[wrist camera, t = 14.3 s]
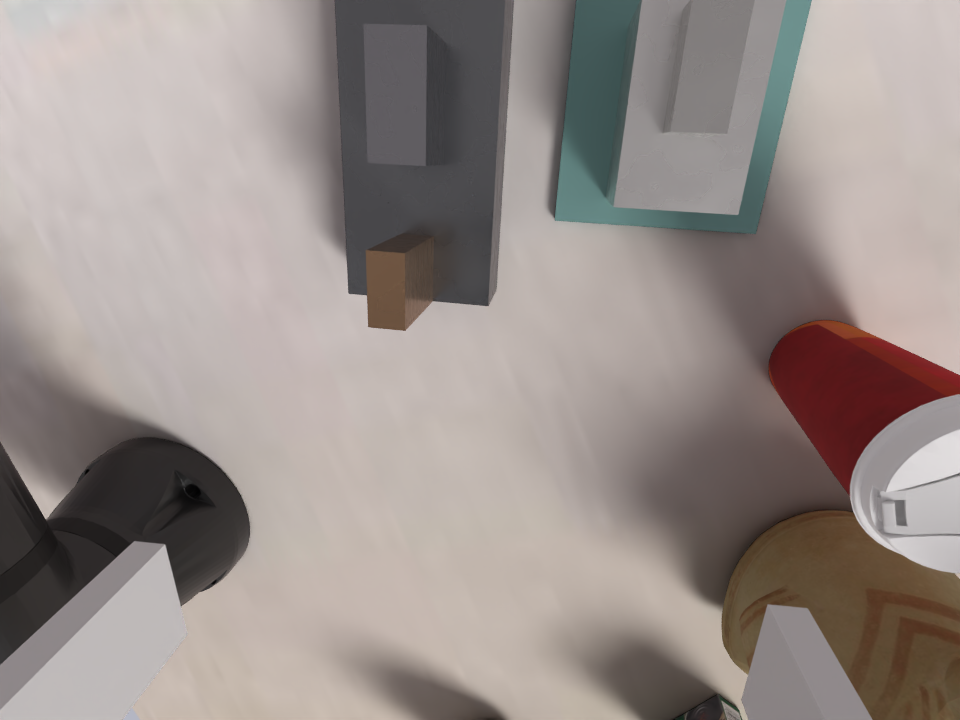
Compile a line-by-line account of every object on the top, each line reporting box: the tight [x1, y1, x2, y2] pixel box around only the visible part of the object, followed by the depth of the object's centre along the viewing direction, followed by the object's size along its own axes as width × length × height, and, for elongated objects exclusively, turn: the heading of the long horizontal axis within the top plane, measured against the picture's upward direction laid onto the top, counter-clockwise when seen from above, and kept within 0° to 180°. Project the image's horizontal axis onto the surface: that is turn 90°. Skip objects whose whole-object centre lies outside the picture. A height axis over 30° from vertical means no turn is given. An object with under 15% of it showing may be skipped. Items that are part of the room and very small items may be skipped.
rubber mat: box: [555, 0, 812, 234], centre depth 30 cm, size 12×12×1 cm
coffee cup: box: [769, 320, 960, 573], centre depth 27 cm, size 8×8×15 cm
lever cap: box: [606, 0, 786, 215], centre depth 26 cm, size 6×9×8 cm, turn 178°
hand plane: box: [335, 0, 514, 331], centre depth 28 cm, size 9×22×10 cm, turn 178°
